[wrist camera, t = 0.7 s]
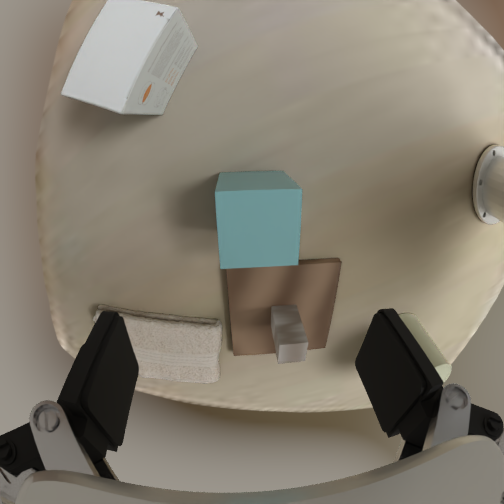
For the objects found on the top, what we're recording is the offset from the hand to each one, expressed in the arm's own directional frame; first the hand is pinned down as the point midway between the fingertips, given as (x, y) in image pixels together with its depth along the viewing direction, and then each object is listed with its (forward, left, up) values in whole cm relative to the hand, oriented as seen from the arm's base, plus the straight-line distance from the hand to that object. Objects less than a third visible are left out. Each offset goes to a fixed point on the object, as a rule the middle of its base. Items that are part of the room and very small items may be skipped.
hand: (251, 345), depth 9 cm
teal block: (-1, 0, -20) cm, 20 cm away
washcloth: (+12, +20, -20) cm, 31 cm away
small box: (+8, -14, -20) cm, 25 cm away
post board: (-5, +14, -20) cm, 25 cm away
